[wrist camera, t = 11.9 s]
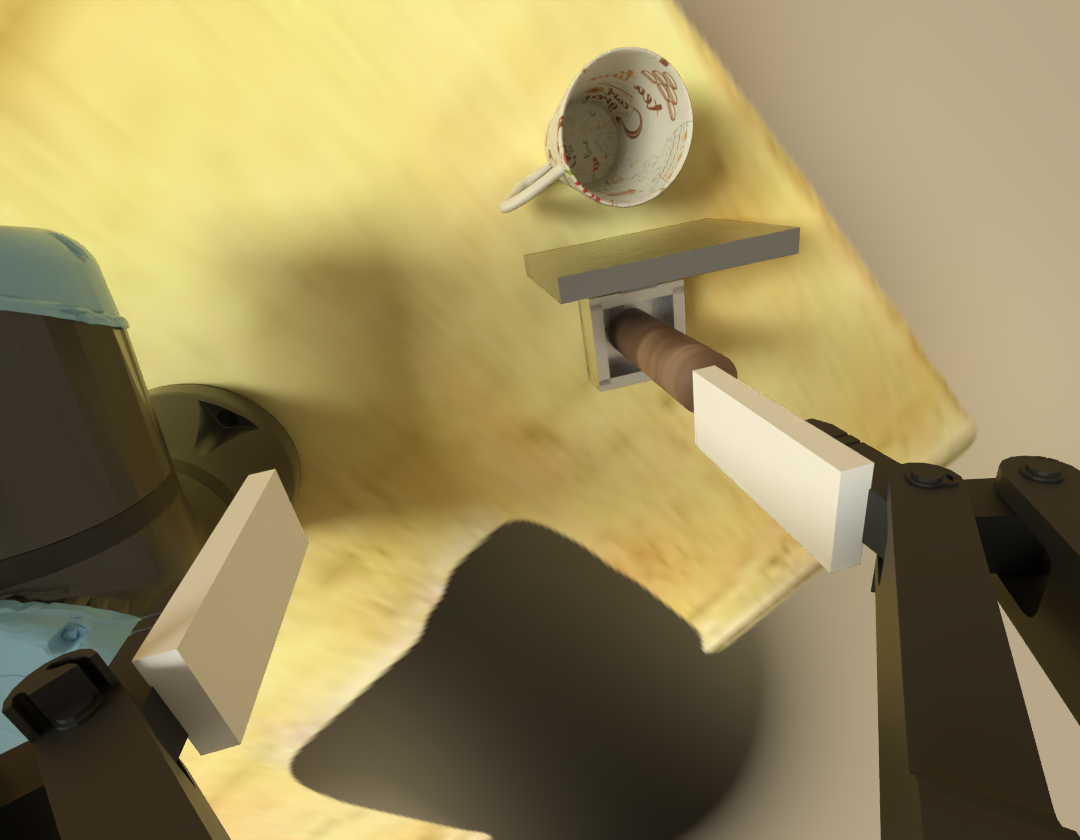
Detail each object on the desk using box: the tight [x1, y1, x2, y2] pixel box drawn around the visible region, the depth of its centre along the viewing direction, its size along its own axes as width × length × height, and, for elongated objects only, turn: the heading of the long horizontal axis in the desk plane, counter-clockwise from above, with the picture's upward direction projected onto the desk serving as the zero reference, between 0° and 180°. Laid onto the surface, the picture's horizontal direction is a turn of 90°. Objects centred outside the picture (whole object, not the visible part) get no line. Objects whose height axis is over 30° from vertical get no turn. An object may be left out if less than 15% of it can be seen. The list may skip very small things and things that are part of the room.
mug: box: [499, 47, 693, 213], centre depth 35 cm, size 8×13×10 cm, turn 126°
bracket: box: [524, 218, 800, 392], centre depth 40 cm, size 16×12×12 cm
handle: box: [608, 308, 737, 413], centre depth 39 cm, size 4×4×14 cm
